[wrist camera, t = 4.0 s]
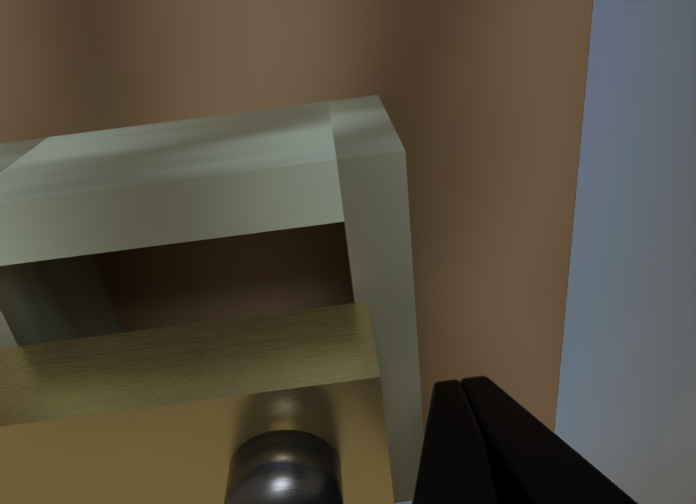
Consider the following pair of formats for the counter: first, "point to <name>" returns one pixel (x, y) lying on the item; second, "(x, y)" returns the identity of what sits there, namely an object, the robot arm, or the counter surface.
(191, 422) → the lock bolt
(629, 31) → the counter surface
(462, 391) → the robot arm
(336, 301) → the dock
